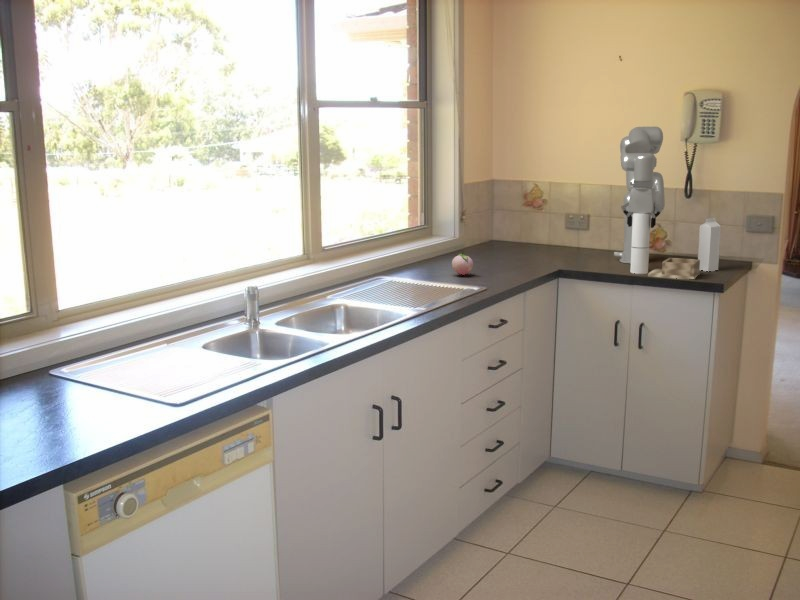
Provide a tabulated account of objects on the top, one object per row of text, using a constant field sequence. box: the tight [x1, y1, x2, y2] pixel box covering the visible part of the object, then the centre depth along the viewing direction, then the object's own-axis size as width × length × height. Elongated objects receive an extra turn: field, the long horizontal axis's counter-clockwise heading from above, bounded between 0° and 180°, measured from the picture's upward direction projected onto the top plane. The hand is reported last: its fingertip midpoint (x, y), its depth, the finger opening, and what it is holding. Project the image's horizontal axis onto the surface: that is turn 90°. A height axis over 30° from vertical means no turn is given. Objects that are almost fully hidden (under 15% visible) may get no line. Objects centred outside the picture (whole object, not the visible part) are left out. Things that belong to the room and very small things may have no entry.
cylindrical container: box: [629, 213, 652, 275], centre depth 357 cm, size 7×7×25 cm
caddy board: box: [647, 257, 701, 280], centre depth 351 cm, size 18×13×6 cm
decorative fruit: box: [451, 251, 474, 276], centre depth 356 cm, size 9×8×10 cm
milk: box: [697, 217, 722, 273], centre depth 360 cm, size 6×6×22 cm
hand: (641, 226), depth 355 cm, fingers open, 8 cm apart
